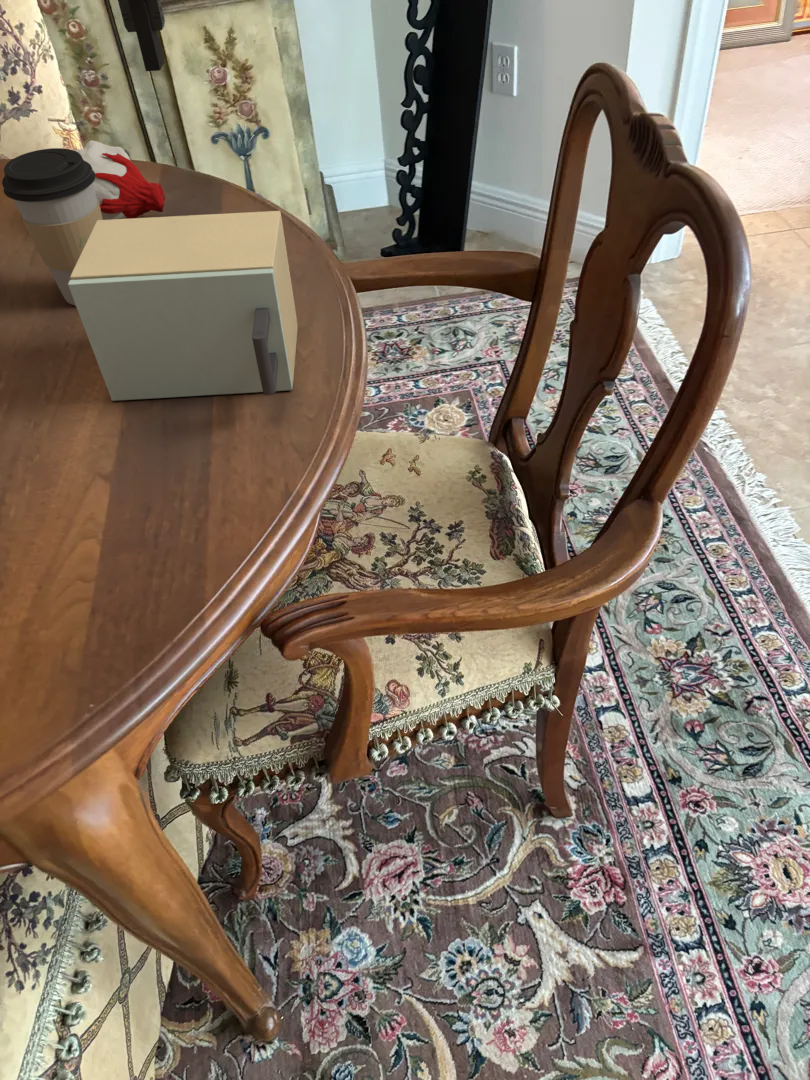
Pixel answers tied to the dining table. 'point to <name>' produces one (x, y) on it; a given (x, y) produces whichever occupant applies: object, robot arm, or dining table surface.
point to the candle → (120, 183)
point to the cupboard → (194, 252)
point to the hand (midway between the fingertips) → (155, 66)
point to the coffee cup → (55, 206)
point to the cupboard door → (185, 333)
